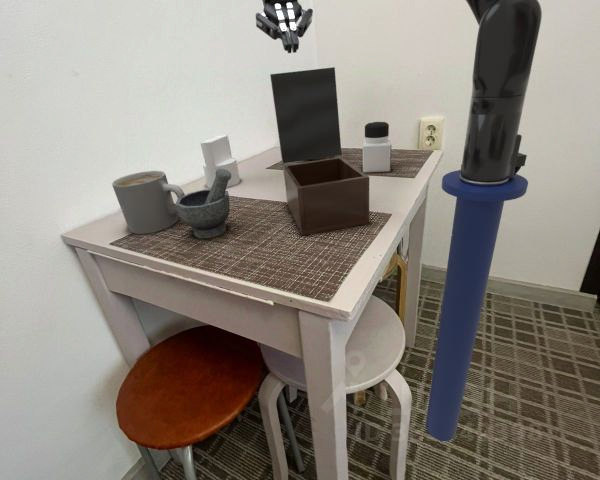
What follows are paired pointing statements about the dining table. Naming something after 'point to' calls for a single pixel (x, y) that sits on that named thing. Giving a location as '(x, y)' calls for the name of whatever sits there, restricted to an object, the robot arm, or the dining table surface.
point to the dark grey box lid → (306, 114)
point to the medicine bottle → (376, 148)
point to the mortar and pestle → (207, 207)
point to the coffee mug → (147, 201)
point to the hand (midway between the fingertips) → (292, 49)
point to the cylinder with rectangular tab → (219, 159)
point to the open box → (326, 195)
